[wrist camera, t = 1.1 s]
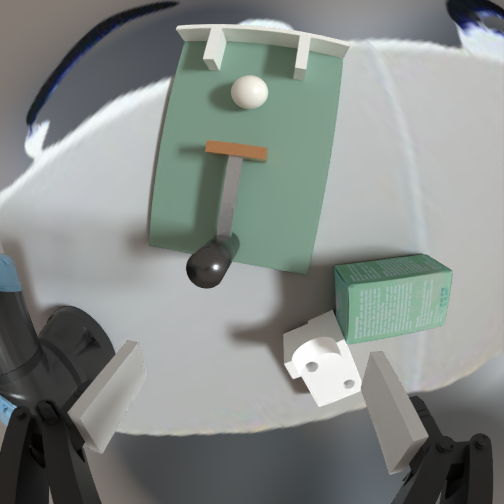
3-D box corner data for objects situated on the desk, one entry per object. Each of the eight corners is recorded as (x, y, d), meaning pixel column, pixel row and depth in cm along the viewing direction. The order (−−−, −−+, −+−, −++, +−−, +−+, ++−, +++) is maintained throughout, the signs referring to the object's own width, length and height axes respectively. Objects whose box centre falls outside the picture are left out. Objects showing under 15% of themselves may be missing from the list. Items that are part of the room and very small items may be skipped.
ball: (231, 111, 28) (224, 101, 24) (237, 81, 27) (231, 68, 23) (265, 115, 28) (264, 105, 24) (271, 85, 27) (270, 72, 23)
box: (331, 264, 32) (345, 286, 25) (424, 252, 31) (454, 268, 24) (332, 317, 34) (344, 348, 27) (421, 301, 33) (446, 326, 25)
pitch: (151, 243, 34) (135, 251, 30) (187, 40, 27) (177, 25, 23) (306, 272, 33) (310, 285, 29) (342, 57, 26) (349, 42, 22)
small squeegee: (199, 252, 32) (169, 280, 23) (215, 145, 29) (188, 128, 19) (249, 261, 32) (237, 295, 22) (268, 152, 29) (264, 137, 19)
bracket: (283, 330, 35) (283, 363, 28) (332, 308, 34) (344, 339, 27) (316, 391, 38) (321, 426, 30) (359, 374, 36) (370, 407, 29)
